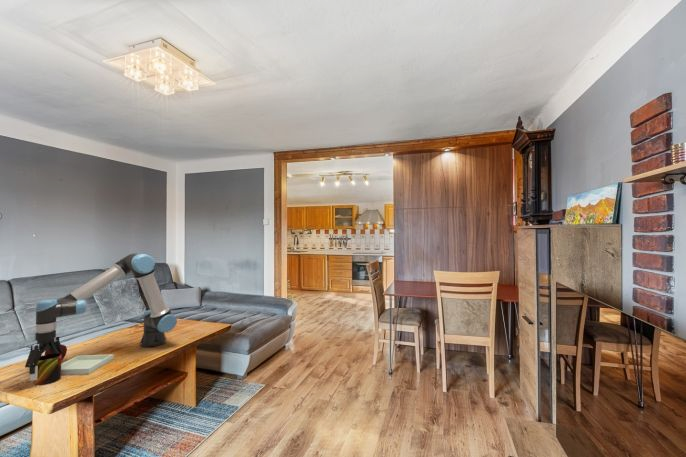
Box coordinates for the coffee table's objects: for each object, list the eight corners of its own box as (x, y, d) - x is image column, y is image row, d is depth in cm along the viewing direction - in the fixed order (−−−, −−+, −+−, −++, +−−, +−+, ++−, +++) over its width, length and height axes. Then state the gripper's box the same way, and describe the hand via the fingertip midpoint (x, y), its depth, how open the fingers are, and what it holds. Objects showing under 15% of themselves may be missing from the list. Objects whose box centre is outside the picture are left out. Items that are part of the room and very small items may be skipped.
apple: (62, 358, 185) (62, 341, 185) (69, 360, 180) (70, 343, 181) (41, 363, 176) (41, 346, 177) (48, 366, 172) (49, 348, 172)
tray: (113, 359, 182) (113, 354, 182) (88, 374, 162) (89, 368, 162) (77, 360, 180) (77, 355, 180) (47, 375, 160) (48, 370, 160)
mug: (40, 376, 160) (40, 353, 160) (66, 376, 160) (66, 353, 160) (20, 385, 150) (21, 360, 151) (47, 385, 150) (48, 360, 150)
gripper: (57, 324, 167) (56, 364, 167) (14, 339, 143) (13, 386, 143) (72, 324, 168) (71, 364, 167) (32, 338, 144) (30, 385, 143)
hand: (44, 374), depth 155 cm, fingers open, 12 cm apart
